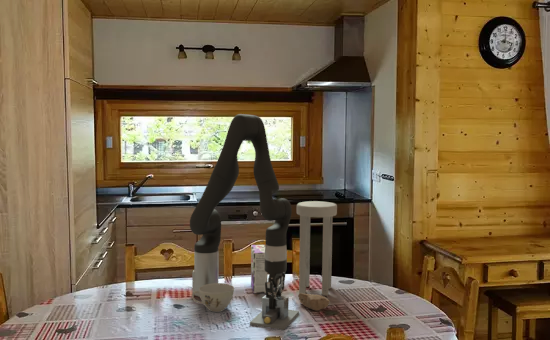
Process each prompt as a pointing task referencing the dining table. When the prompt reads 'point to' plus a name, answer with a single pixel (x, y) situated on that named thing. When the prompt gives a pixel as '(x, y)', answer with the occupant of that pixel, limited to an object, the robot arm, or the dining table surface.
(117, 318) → the dining table surface
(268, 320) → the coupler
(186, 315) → the dining table surface
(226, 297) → the teacup
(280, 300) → the grey arch block
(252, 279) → the candy box
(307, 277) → the stool
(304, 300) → the stone
